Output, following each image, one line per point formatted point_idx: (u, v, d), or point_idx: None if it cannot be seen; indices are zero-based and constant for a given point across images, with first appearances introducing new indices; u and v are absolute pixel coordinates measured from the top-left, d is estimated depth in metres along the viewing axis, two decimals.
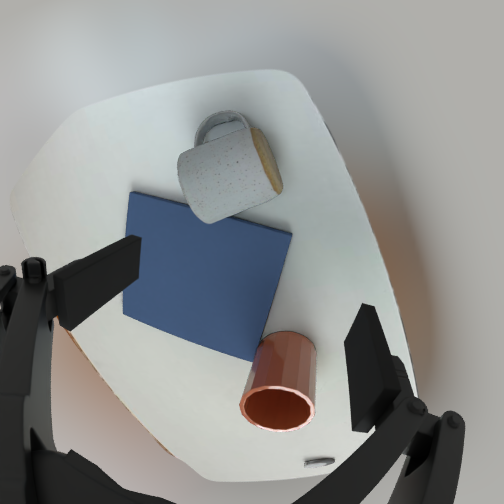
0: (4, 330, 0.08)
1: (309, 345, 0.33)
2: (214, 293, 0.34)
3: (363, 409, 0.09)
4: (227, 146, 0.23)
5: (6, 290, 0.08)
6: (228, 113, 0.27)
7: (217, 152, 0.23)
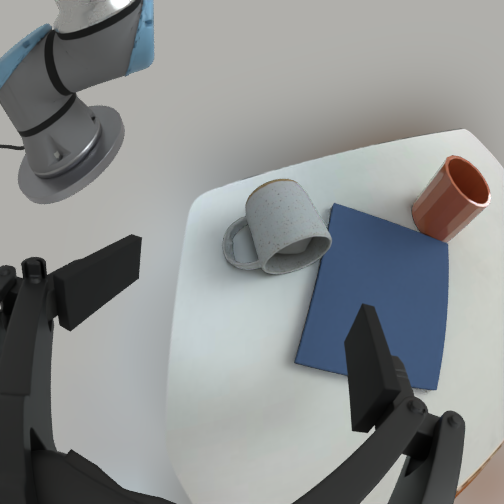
0: (4, 330, 0.08)
1: (418, 196, 0.36)
2: (396, 271, 0.31)
3: (363, 409, 0.09)
4: (263, 205, 0.28)
5: (6, 290, 0.08)
6: (226, 239, 0.32)
7: (268, 211, 0.27)
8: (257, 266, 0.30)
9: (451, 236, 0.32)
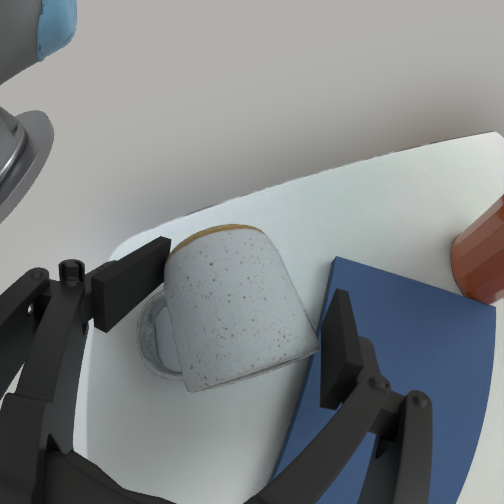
0: (31, 333, 0.09)
1: (460, 235, 0.22)
2: (427, 368, 0.17)
3: (329, 385, 0.10)
4: (183, 287, 0.14)
5: (37, 293, 0.09)
6: (141, 324, 0.18)
7: (190, 303, 0.13)
8: None
9: (502, 298, 0.18)
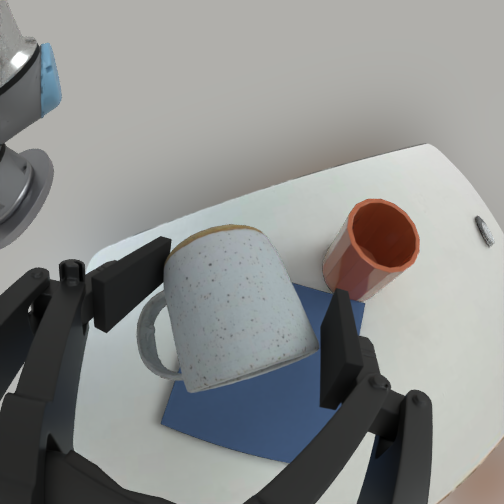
0: (32, 333, 0.09)
1: None
2: None
3: (329, 385, 0.10)
4: (183, 287, 0.14)
5: (37, 294, 0.09)
6: (141, 325, 0.18)
7: (189, 303, 0.13)
8: None
9: (367, 296, 0.31)
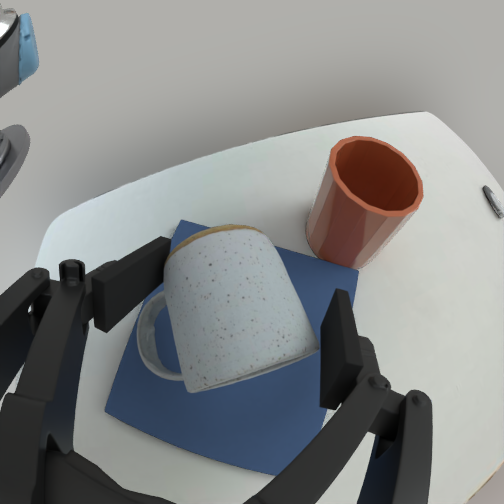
0: (32, 333, 0.09)
1: None
2: None
3: (329, 385, 0.10)
4: (183, 287, 0.14)
5: (37, 294, 0.09)
6: (141, 325, 0.18)
7: (189, 303, 0.13)
8: None
9: (361, 260, 0.25)
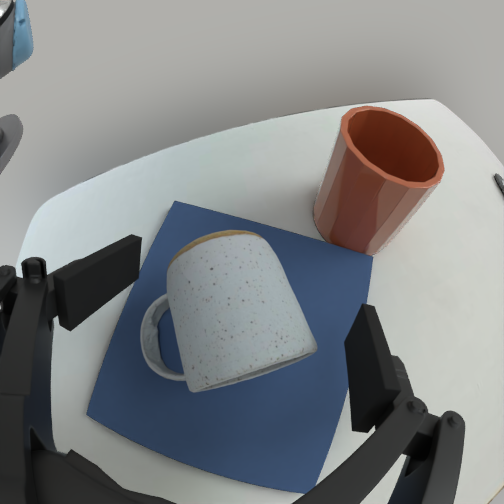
0: (4, 330, 0.08)
1: None
2: None
3: (363, 409, 0.09)
4: (185, 291, 0.14)
5: (6, 290, 0.08)
6: (145, 327, 0.18)
7: (192, 306, 0.14)
8: None
9: (376, 245, 0.22)
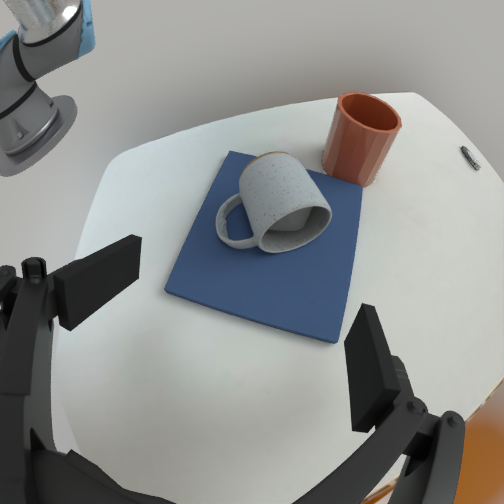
0: (4, 330, 0.08)
1: None
2: None
3: (363, 409, 0.09)
4: (258, 177, 0.26)
5: (6, 290, 0.08)
6: (219, 217, 0.30)
7: (263, 183, 0.25)
8: (253, 244, 0.28)
9: (364, 177, 0.33)
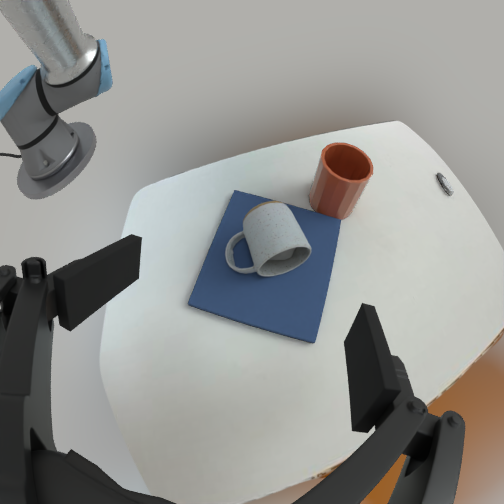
0: (4, 330, 0.08)
1: None
2: None
3: (363, 409, 0.09)
4: (257, 223, 0.36)
5: (6, 290, 0.08)
6: (228, 249, 0.40)
7: (260, 228, 0.36)
8: (253, 271, 0.38)
9: (342, 213, 0.44)
